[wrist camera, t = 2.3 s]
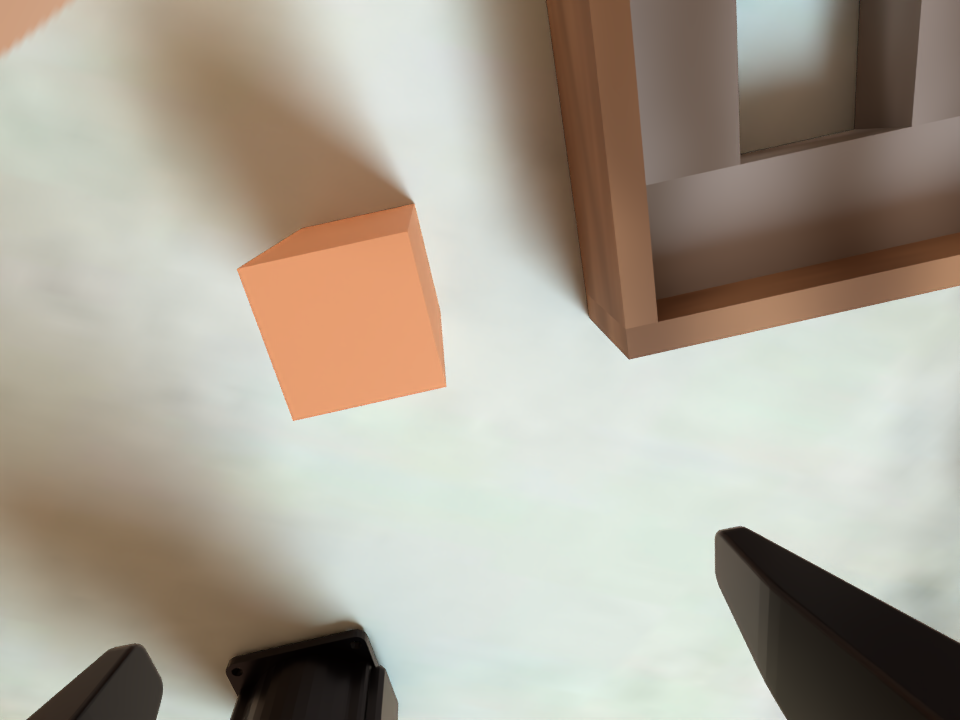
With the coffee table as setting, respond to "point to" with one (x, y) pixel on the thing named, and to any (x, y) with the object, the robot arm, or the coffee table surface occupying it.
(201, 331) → the coffee table surface
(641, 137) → the socket box
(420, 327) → the peg
